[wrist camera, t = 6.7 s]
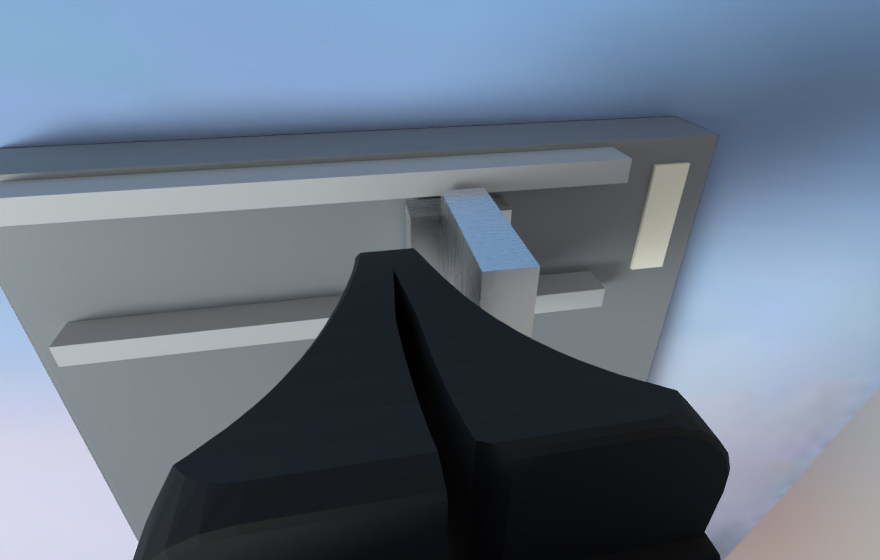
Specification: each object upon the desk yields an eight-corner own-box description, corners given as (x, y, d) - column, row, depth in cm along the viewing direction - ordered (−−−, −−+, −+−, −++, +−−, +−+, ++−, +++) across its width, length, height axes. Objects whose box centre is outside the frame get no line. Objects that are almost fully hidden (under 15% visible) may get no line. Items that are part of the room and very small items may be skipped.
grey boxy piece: (492, 293, 14) (553, 413, 10) (408, 302, 14) (439, 430, 10) (501, 170, 12) (579, 262, 9) (403, 176, 12) (440, 275, 8)
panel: (581, 502, 25) (620, 585, 21) (192, 571, 22) (168, 680, 19) (675, 116, 15) (775, 158, 12) (-6, 148, 12) (-132, 217, 9)
